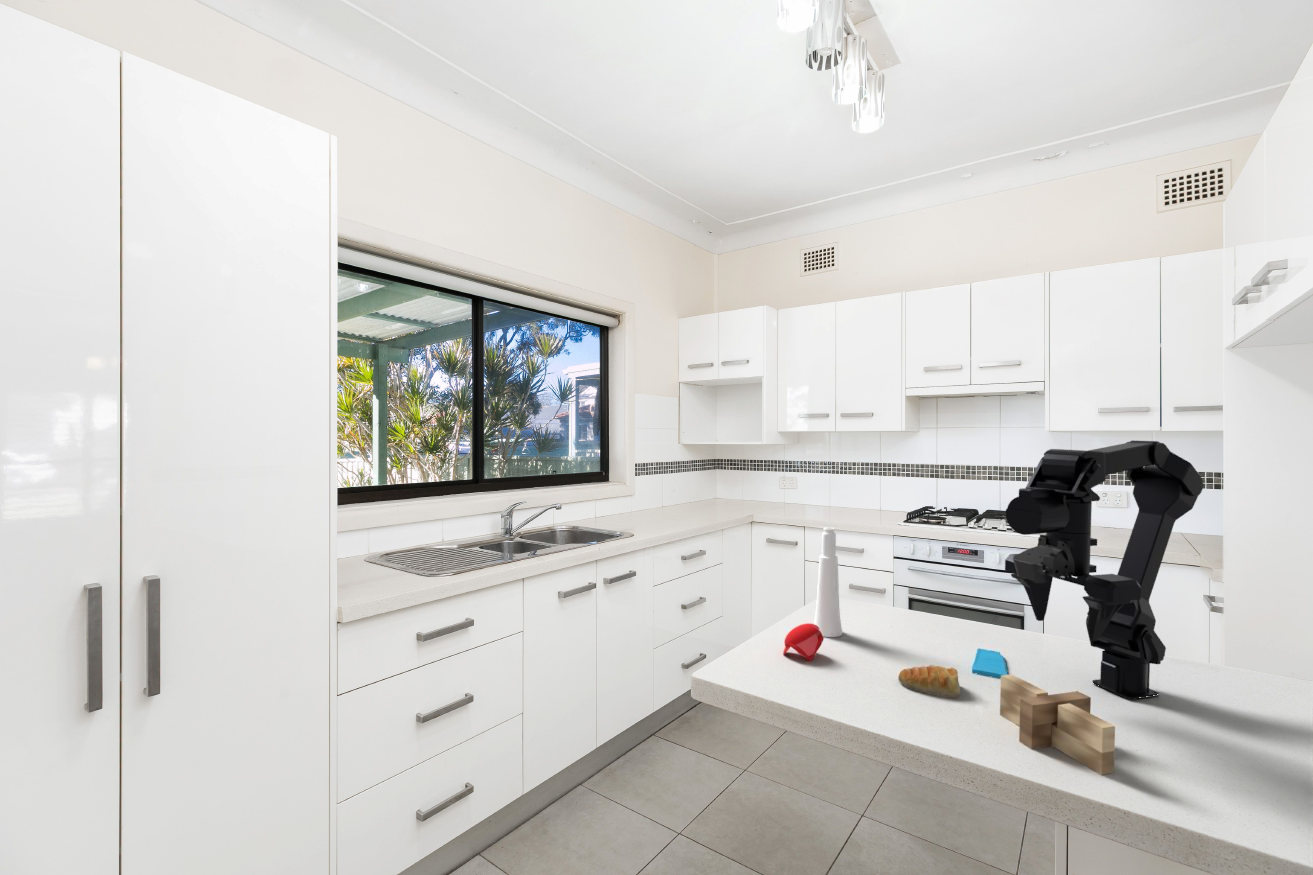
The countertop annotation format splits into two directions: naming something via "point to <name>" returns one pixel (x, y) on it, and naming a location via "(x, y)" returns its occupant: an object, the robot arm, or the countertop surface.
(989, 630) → the countertop surface
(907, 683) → the pastry
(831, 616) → the cosmetic bottle
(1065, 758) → the countertop surface
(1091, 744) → the oak slot board
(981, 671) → the sponge
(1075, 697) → the walnut slot plate
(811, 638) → the red rounded piece
